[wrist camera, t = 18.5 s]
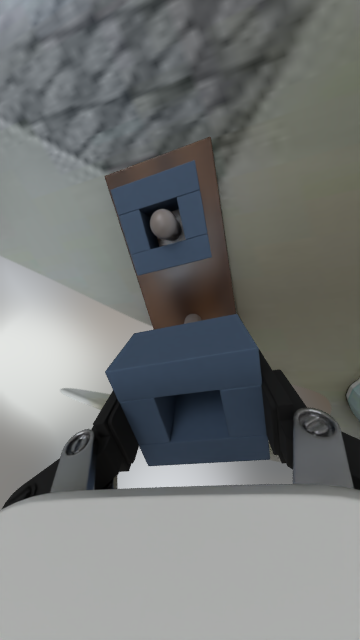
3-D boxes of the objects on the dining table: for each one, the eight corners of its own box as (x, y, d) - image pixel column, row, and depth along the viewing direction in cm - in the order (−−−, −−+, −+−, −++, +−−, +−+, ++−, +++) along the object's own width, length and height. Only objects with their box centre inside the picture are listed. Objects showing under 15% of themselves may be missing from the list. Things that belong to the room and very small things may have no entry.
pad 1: (195, 180, 16) (194, 159, 12) (209, 255, 18) (211, 257, 15) (128, 202, 17) (109, 189, 14) (149, 270, 19) (137, 275, 16)
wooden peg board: (209, 145, 16) (216, 77, 10) (240, 351, 24) (255, 389, 17) (111, 181, 18) (62, 143, 12) (168, 362, 25) (157, 400, 19)
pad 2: (237, 313, 11) (258, 347, 7) (249, 398, 13) (270, 460, 9) (134, 333, 12) (104, 371, 8) (161, 408, 14) (148, 466, 10)
